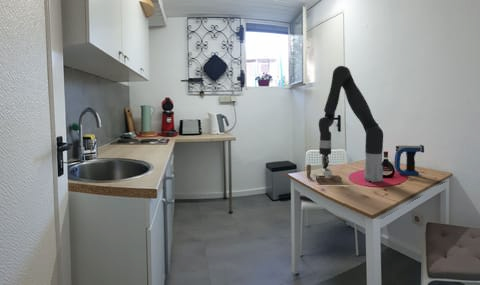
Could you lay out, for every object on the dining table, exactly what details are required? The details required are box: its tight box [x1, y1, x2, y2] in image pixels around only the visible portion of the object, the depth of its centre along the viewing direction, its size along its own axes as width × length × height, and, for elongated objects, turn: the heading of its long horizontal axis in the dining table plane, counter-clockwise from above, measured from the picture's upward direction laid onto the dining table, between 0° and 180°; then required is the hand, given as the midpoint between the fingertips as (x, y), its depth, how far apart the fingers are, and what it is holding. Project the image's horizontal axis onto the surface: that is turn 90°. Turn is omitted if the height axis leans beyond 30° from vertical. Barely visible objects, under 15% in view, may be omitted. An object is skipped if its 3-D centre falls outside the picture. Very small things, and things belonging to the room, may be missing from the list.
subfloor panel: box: [311, 173, 334, 181], centre depth 169 cm, size 14×21×1 cm, turn 175°
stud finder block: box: [320, 168, 333, 175], centre depth 173 cm, size 5×7×4 cm
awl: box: [306, 164, 312, 178], centre depth 172 cm, size 3×3×9 cm
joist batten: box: [315, 174, 343, 184], centre depth 161 cm, size 14×5×3 cm, turn 85°
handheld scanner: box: [394, 144, 425, 176], centre depth 175 cm, size 5×16×20 cm, turn 78°
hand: (324, 172), depth 179 cm, fingers closed
